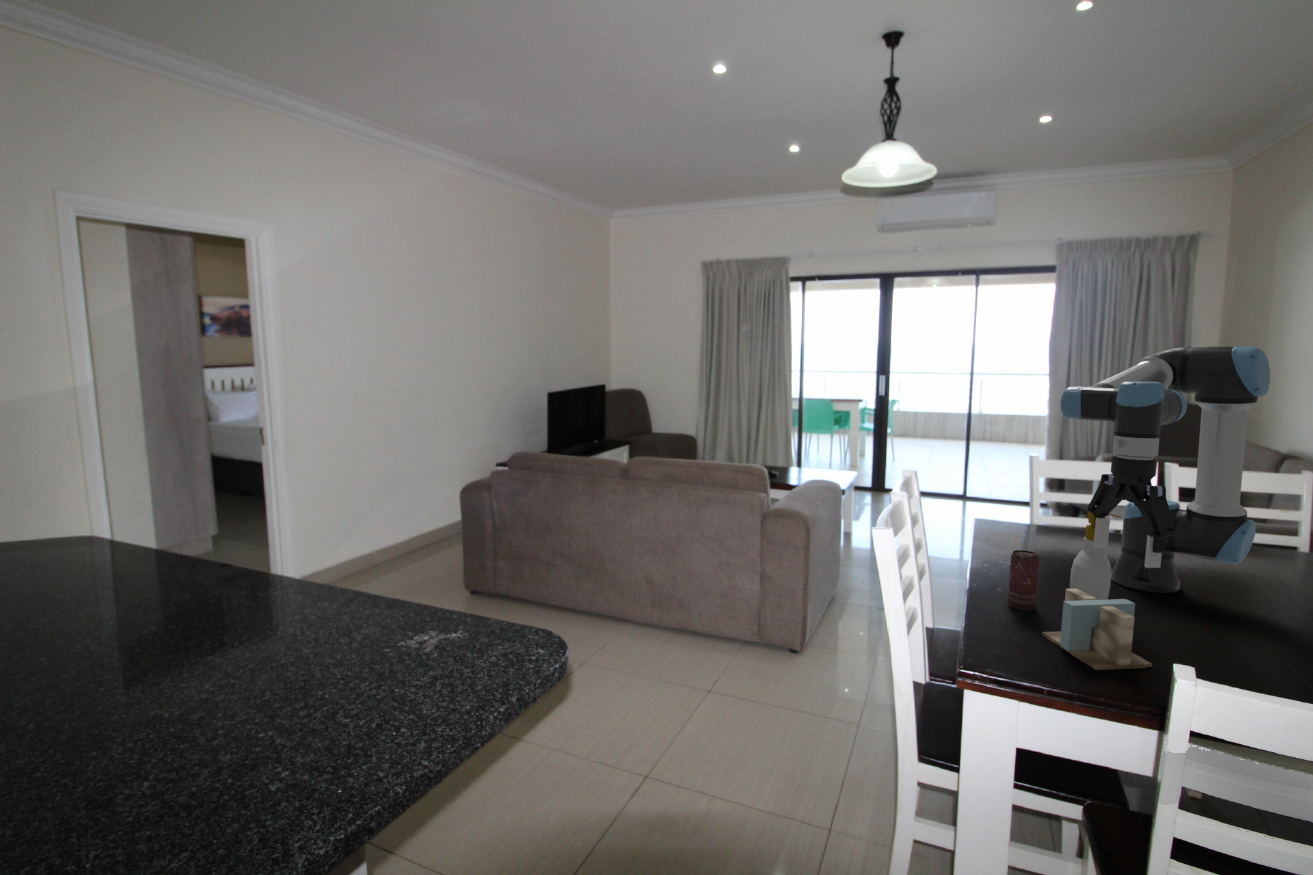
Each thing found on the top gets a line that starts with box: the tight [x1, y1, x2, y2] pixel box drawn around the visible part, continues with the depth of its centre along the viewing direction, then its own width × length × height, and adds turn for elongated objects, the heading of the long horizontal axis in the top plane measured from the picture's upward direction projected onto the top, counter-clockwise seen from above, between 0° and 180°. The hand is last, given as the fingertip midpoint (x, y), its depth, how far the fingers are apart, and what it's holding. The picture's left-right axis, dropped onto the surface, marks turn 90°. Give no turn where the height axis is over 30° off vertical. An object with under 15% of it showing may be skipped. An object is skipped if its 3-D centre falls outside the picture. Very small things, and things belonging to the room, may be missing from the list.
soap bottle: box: [1069, 511, 1122, 600], centre depth 155 cm, size 14×9×26 cm, turn 140°
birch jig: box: [1041, 588, 1153, 671], centre depth 136 cm, size 16×12×11 cm
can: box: [1007, 549, 1041, 612], centre depth 160 cm, size 6×6×14 cm
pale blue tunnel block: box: [1060, 598, 1136, 652], centre depth 136 cm, size 14×2×10 cm, turn 94°
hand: (1125, 556), depth 135 cm, fingers open, 13 cm apart
